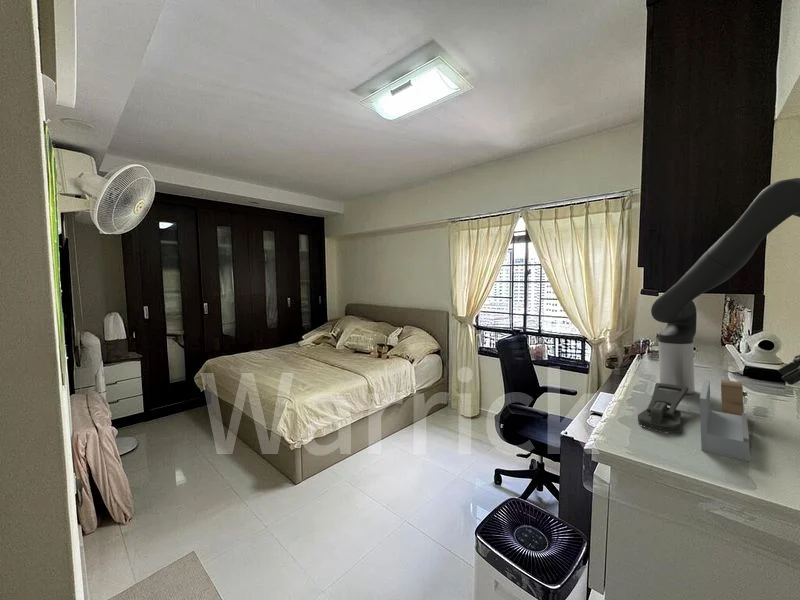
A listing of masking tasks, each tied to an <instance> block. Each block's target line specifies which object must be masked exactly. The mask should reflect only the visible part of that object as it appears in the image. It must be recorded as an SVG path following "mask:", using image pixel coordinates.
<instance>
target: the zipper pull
mask: <svg viewBox="0 0 800 600" xmlns="http://www.w3.org/2000/svg"><path fill="white" fill-rule="evenodd" d="M660 388H661V389H660ZM653 389H654V390H653V393H652V397H651V399H650V401H649V404H648V406H647V408H646V409H644V410H643V411H642V412H640V413H639V414H637V422H639V423H640V424H639V423H638V424H639V426H640V425H642V426H645V427H647V428H646V429H648V428H650V429H649V430H651V429H653V430H652V431H655V430H657V431H656V432H659V431H661V432H660V433H665V432H668V434H673V433H674V434H678V433H680V431H681V430H682V428H681V426H682V412H681V410H679V409H677V408H678V407H679V404H680V403H681V401H682V400H683V398H684V397H685V396H686V395H687V394H686V393H687V391H688V387H684V386H679V385H673V384H664V383H660V382H656V383H655V385H654V388H653ZM663 389H670V390H677V391H681V392H676V391H670V390H663ZM668 406H669V407H668ZM642 426H641V427H642ZM645 427H644V428H645ZM677 432H678V433H677Z"/></svg>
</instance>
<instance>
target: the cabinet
mask: <svg viewBox="0 0 800 600" xmlns="http://www.w3.org/2000/svg"><path fill="white" fill-rule="evenodd" d="M720 382H721V383H720V391H721V392H720V393H721V395H720V396H721V412H722V413H728V414H734V415H740V416H742V413H744V397H748V392H746V391H744V389H743V388H744V387H743V382H742V381H735V380H733V381H732V380H724V379H721V381H720Z"/></svg>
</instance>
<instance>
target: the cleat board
mask: <svg viewBox="0 0 800 600" xmlns="http://www.w3.org/2000/svg"><path fill="white" fill-rule="evenodd" d="M710 382H711V381H710V380H706V379H705V380H703V384H702V388H701V392H700V395H699V409H700V410H699V415H700V416H699V418H700V438H701V439H700V442H701V443H700V445H701V451H704V452H708V453H712V454H717V455H720V456H721V455H722V456H725V457H730V458H734V459H738V460H742V461H747V462H750V460H751V459H750V456H751V455H750V435H749V426H748V417H747V413H746V412H743V413H742V416H740V415H734V414H728V413H722V411H721V412H720V411H715V410H711V385H710Z"/></svg>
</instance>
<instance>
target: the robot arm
mask: <svg viewBox="0 0 800 600" xmlns="http://www.w3.org/2000/svg"><path fill="white" fill-rule="evenodd" d="M791 216H796V217H798V218H800V177H796V178H789V179H788V178H787V179H783V180H779V181H775V182H773V183H771V184H769V185H768V186H766V187H765V188H764V189H762V190H761V191H760V192H759V194H758V195H757V196H756V197H755V198H754V199H753V201H752V202H751V203H750V205H749V206H748V207H747V208H746V210H745V211H744V213H743V214H742V215H741V216H740V217H739V218H738V220H737V221H736V222H735V223H734V224H733V225H732V226H731V227H730V228H729V229H728V230H727V231H725V232H724V234H723V235H722V236H721V237H719V239H717V241H715V242H714V243H713V244H712V245H711V246H710V247H709V248H708V249H707V251H705V252H704V253H703V254H702V255H701V257H699V258H698V259H697V260H696V262H695V263H694V264H693V265H692V266H691V267H690V268H689V269H688V271H686V272H685V273H684V275H682V277H680V278H679V280H678V281H677V282H676V283H675V284H673V285H672V286H671V287H670V288H669V289H667V291H665V292H664V293H663V294H662V295H660V296H659V297H658V298H657V299H656V300H655V301H654V302H653V304H652V306H651V308H650V312H651V317H652V319H654V320H655V321H657V322H658V323H662V324H667V325H666V327H665V328H664V330H662V331H660V332H659V333H658V337H657V340H658V361H659V362H658V365H659V383H664V384H673V385H679V386H684V387H688V391H687V393H686V394H685V395H692V394H695V391H696V390H695V388H696V387H695V359H694V355H695V353H694V339H695V338H694V337H695V336H696V333H697V314H698V313H697V307H696V304H695V302H694V300H695V299H696V298H698V297H699V296H701V295H703V294H704V293H706V292H709V291H710V290H712V289H714V288H716V287H718V286H719V285H721V284H723V283H725V282H726V281H728V280H729V279H731V278H732V277H733V276H734V275H735V274H737V272H738V271H739V270H741V269H742V268H743V267H744V266H745V265H746V264H747V263H748V261H750V259H751V258H752V257H753V255H754V253H755V252H756V250H757V248H758V247H759V245H760V244H761V242H762V241H763V240H764V239H765V238H766V237H767V236H768V235H769V234H770V233H771V232H772V231H773V230H775V229H776V228H777V227H778V226H779V225H781V224H782V223H784V222H785V221H786V220H787V219H789V218H790V217H791ZM777 371H778V372H779V373H780V375H782V376H781V380H782V381H784V382H785V383H787V384H789V385H791V386H792V385H794V384H797V383H799V382H800V354H798V355H795V356H794V357H793V359H792V361H791V362H788V363H787V364H784V366H781V367H780V368H778V369H777ZM659 389H661V388H659ZM663 390H670V389H663ZM670 391H676V392H681V391H677V390H670Z"/></svg>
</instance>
